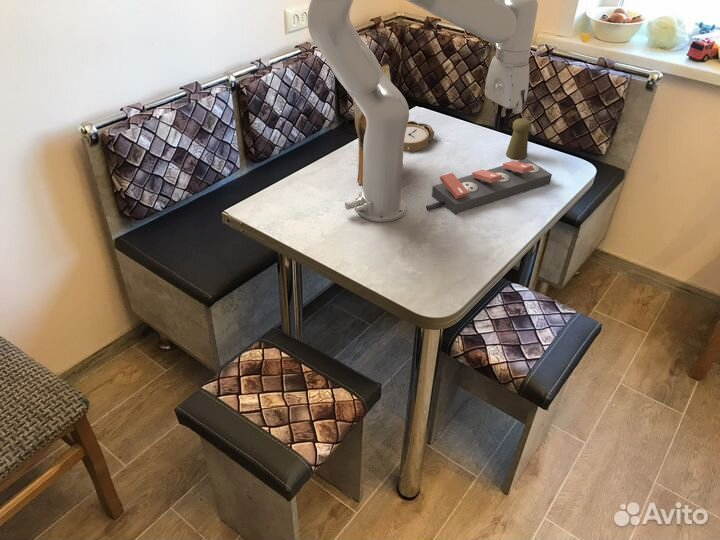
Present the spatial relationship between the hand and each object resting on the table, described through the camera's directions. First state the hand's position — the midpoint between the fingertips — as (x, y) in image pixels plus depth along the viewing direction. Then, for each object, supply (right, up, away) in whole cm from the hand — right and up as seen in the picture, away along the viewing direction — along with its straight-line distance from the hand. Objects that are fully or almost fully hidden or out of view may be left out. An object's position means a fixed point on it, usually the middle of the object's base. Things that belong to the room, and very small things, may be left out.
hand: (500, 128), depth 152 cm
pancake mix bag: (-31, -8, +19) cm, 37 cm away
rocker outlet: (+8, -8, +14) cm, 18 cm away
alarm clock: (-19, +4, +35) cm, 40 cm away
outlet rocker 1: (-11, -14, +6) cm, 19 cm away
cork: (+11, -1, +29) cm, 31 cm away
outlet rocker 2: (-2, -11, +9) cm, 15 cm away
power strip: (-2, -14, +12) cm, 18 cm away
